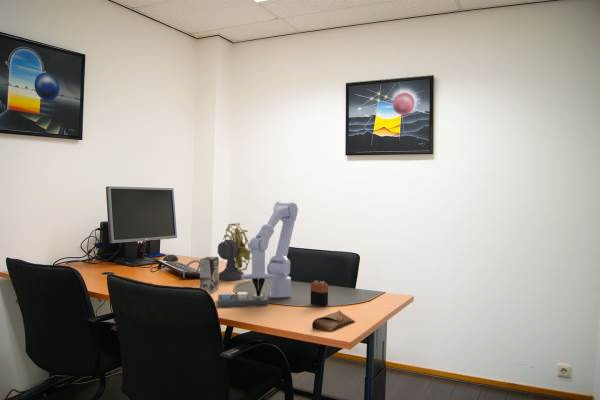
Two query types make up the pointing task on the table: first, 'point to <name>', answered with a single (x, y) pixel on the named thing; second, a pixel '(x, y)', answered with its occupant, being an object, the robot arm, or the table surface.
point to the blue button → (226, 295)
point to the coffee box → (209, 274)
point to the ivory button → (242, 295)
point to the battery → (319, 293)
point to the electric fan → (231, 254)
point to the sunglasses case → (331, 322)
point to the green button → (258, 296)
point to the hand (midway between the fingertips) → (258, 295)
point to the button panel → (242, 301)
